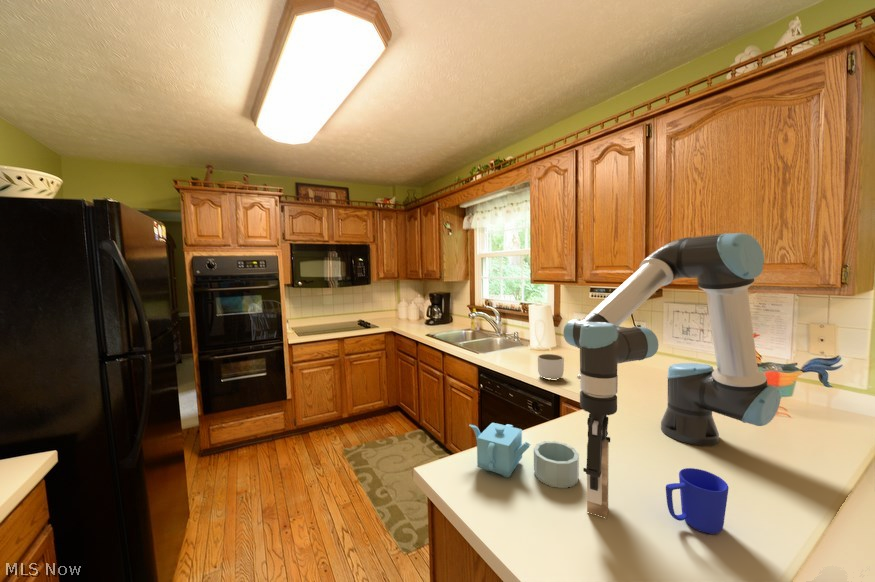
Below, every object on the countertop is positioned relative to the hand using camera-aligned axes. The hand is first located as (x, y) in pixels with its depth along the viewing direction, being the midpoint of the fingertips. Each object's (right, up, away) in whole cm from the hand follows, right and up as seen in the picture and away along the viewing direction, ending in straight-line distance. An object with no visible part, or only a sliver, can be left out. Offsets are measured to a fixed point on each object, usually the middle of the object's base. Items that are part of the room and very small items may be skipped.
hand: (597, 483), depth 76 cm
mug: (+18, -6, -5) cm, 20 cm away
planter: (+21, 0, +93) cm, 95 cm away
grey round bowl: (-5, -6, +14) cm, 16 cm away
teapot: (-19, -6, +19) cm, 27 cm away
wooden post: (0, -6, 0) cm, 6 cm away
